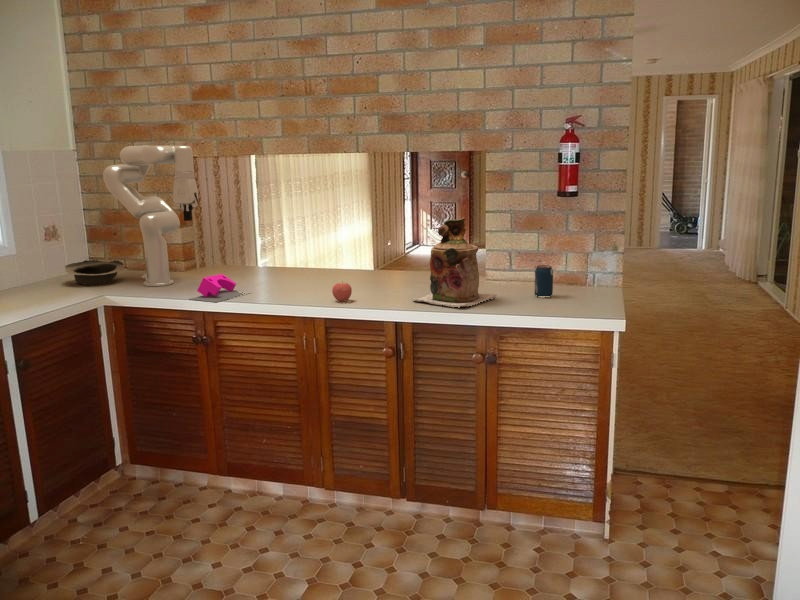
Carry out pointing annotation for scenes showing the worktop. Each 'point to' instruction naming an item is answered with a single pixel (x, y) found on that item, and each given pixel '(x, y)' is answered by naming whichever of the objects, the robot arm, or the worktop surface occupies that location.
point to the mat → (218, 296)
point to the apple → (342, 291)
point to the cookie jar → (454, 269)
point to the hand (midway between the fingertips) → (188, 220)
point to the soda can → (544, 280)
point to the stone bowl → (94, 271)
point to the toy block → (215, 285)
